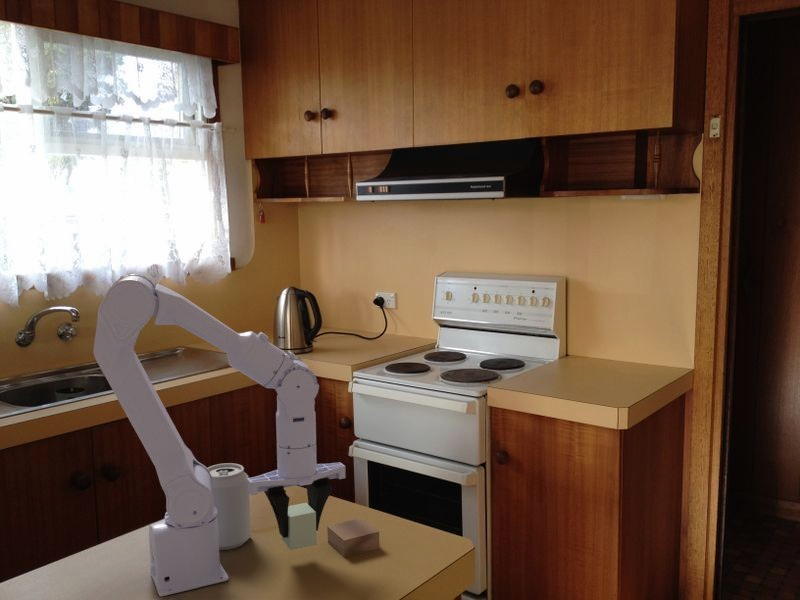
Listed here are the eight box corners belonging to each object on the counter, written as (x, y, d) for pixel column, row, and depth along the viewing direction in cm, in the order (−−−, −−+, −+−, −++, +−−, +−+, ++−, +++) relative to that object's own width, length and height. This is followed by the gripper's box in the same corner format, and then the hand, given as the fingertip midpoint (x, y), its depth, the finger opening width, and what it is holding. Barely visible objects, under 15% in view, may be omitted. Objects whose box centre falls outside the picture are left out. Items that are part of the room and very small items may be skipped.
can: (254, 530, 122) (251, 459, 121) (246, 551, 115) (243, 476, 114) (208, 532, 122) (205, 461, 121) (197, 553, 115) (193, 477, 113)
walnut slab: (344, 559, 113) (343, 540, 112) (327, 544, 118) (327, 526, 117) (379, 549, 115) (379, 531, 115) (361, 535, 121) (361, 517, 120)
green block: (290, 550, 109) (289, 517, 108) (281, 539, 112) (280, 507, 111) (316, 544, 110) (315, 512, 110) (307, 534, 114) (306, 502, 113)
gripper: (255, 458, 103) (258, 553, 104) (353, 443, 109) (354, 531, 111) (242, 444, 109) (245, 533, 110) (334, 430, 115) (336, 514, 117)
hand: (298, 531), depth 111 cm, fingers closed on green block, 4 cm apart
